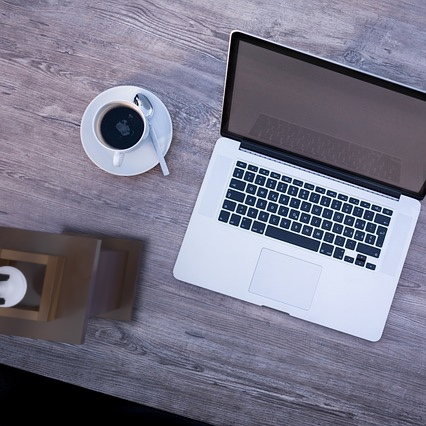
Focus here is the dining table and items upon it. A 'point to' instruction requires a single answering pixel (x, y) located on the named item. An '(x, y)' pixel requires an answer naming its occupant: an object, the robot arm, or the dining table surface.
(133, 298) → the stand base
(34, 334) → the socket stand
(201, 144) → the dining table surface
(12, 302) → the chess piece
